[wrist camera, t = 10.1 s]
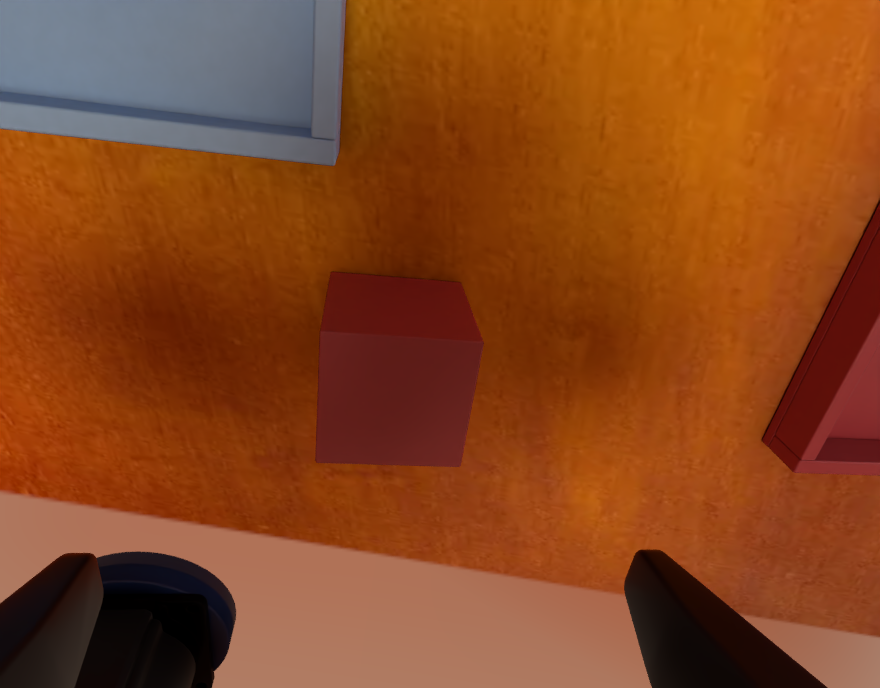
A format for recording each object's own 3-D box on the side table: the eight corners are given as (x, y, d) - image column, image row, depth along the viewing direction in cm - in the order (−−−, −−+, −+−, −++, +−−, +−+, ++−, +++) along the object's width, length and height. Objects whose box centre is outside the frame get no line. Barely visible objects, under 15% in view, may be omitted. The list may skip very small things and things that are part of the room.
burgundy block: (444, 390, 19) (461, 467, 16) (326, 384, 18) (315, 463, 15) (461, 281, 17) (484, 342, 14) (330, 270, 17) (319, 330, 13)
